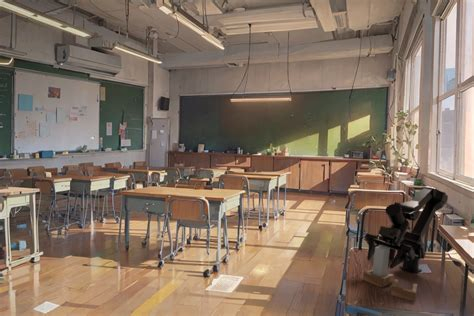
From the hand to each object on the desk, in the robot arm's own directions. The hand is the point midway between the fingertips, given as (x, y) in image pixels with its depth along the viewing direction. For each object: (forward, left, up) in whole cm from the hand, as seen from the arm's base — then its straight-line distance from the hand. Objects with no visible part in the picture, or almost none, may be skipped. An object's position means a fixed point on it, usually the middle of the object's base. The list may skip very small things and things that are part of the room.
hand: (378, 263), depth 147 cm
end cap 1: (-1, 0, -8) cm, 8 cm away
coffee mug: (-29, -19, -8) cm, 36 cm away
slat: (-1, 0, -7) cm, 7 cm away
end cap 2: (-1, +11, -8) cm, 13 cm away
